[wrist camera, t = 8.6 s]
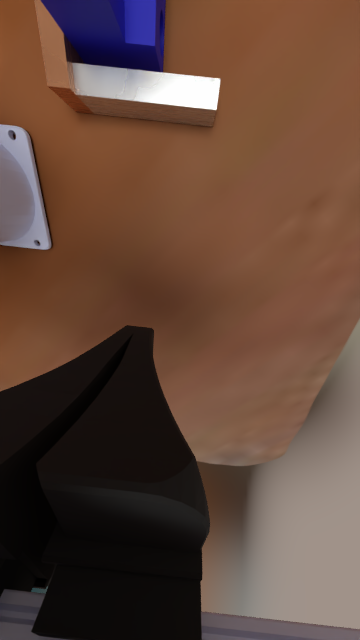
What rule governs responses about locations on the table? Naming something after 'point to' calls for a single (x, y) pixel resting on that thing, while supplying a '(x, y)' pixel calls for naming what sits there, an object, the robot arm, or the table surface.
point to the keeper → (122, 84)
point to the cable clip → (113, 31)
